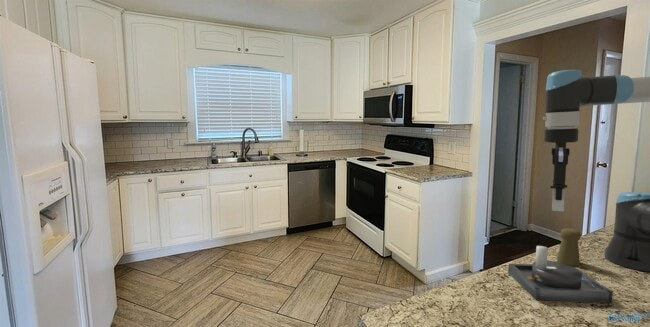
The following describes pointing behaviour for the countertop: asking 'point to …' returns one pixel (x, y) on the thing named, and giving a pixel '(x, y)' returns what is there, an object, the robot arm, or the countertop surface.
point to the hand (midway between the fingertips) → (557, 210)
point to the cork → (569, 247)
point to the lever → (554, 271)
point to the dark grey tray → (540, 291)
